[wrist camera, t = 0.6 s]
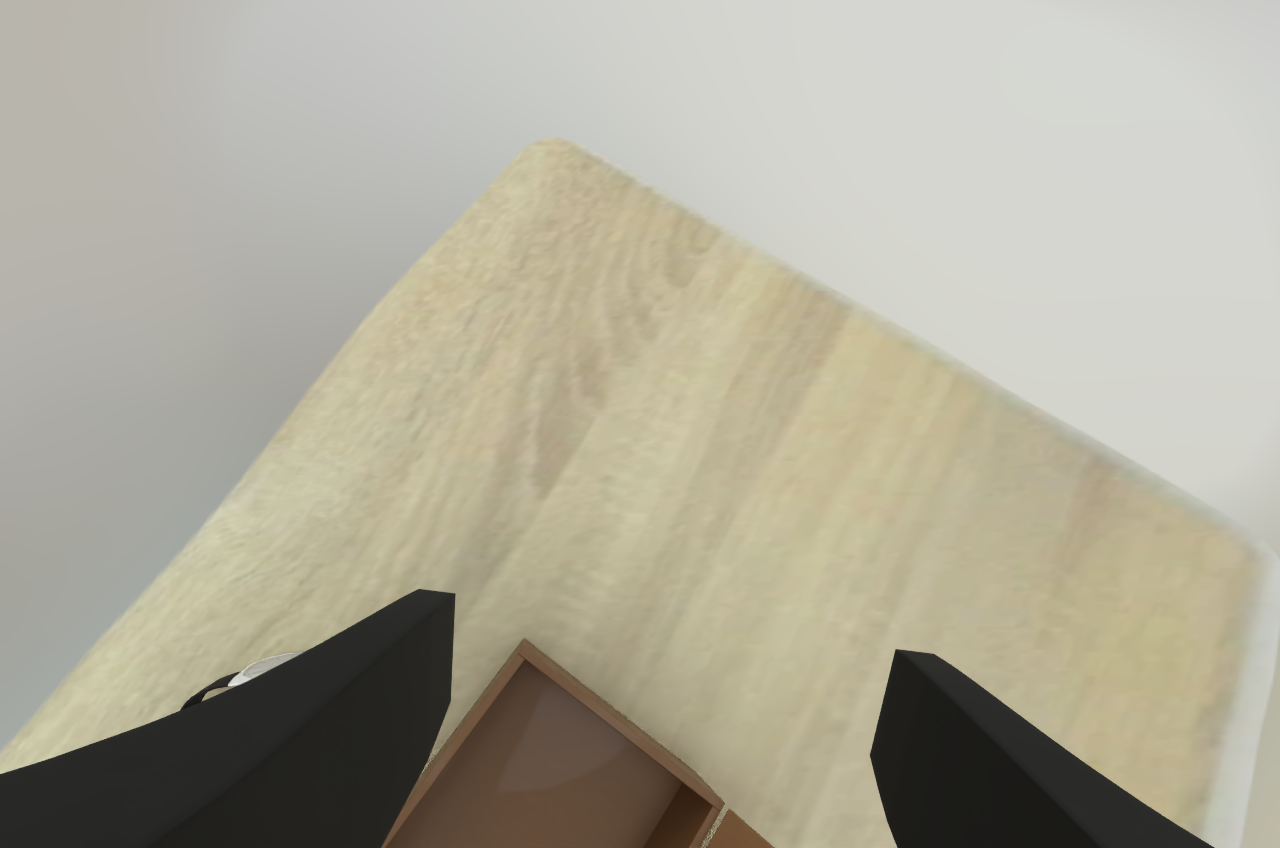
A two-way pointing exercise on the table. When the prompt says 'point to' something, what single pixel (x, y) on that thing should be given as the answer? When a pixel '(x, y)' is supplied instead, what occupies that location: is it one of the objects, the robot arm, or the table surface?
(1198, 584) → the table surface
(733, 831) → the flap
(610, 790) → the carton
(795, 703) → the table surface
